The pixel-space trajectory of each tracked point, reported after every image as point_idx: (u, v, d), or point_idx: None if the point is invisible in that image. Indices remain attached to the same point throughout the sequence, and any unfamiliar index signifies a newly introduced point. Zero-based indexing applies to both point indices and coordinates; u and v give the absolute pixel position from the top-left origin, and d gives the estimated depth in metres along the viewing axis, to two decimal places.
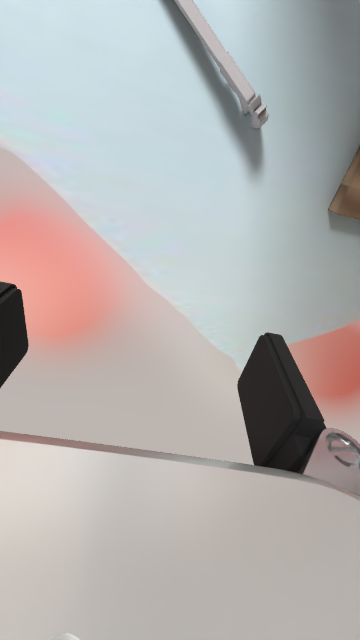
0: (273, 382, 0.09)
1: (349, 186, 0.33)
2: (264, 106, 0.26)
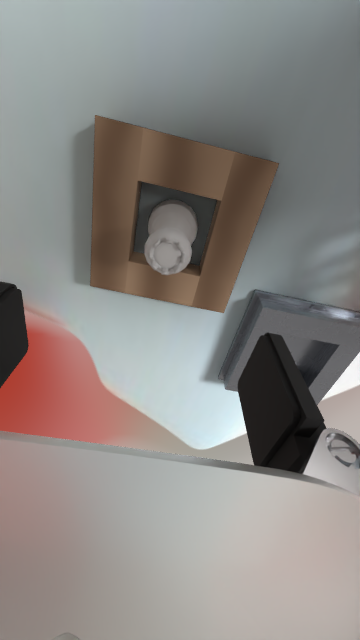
0: (273, 382, 0.09)
1: None
2: None
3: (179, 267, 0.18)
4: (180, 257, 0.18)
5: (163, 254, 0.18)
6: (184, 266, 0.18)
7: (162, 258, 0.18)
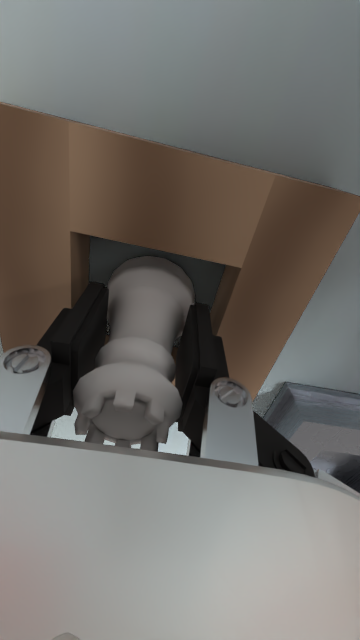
0: (189, 343, 0.09)
1: (70, 121, 0.08)
2: None
3: (153, 443, 0.08)
4: (155, 424, 0.08)
5: (114, 421, 0.07)
6: None
7: (112, 427, 0.08)
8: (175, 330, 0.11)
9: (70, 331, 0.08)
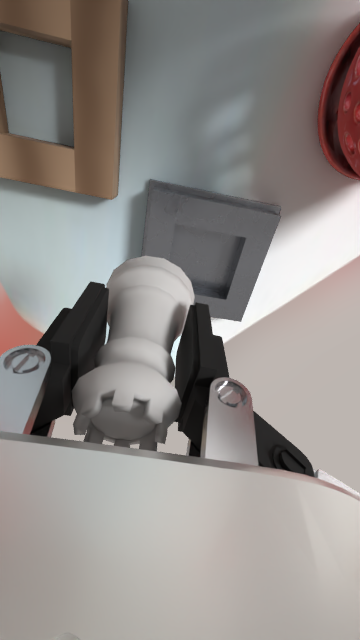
0: (189, 343, 0.09)
1: None
2: None
3: (151, 444, 0.08)
4: (154, 424, 0.08)
5: (113, 421, 0.07)
6: None
7: (111, 427, 0.08)
8: (174, 330, 0.11)
9: (70, 331, 0.08)
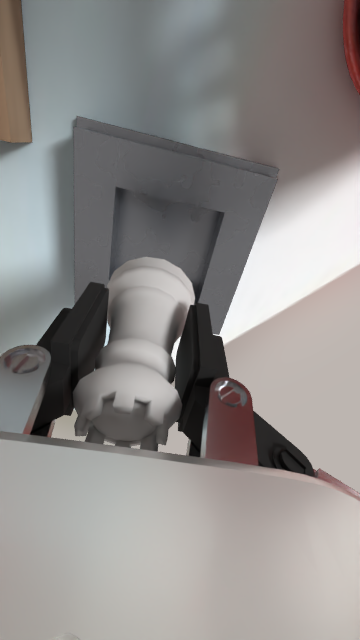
0: (189, 343, 0.09)
1: None
2: None
3: (152, 445, 0.08)
4: (155, 425, 0.08)
5: (114, 423, 0.07)
6: None
7: (113, 429, 0.08)
8: (175, 331, 0.11)
9: (70, 331, 0.08)
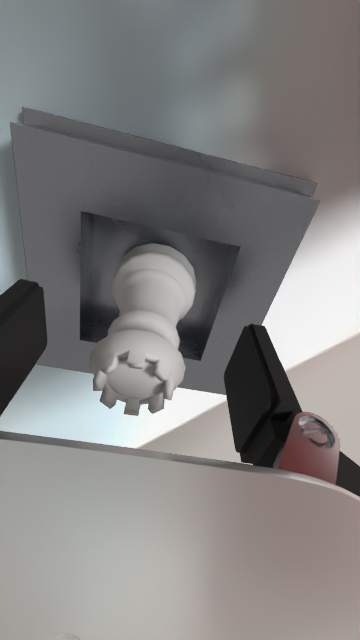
0: (253, 370, 0.09)
1: None
2: None
3: (159, 401, 0.09)
4: (162, 384, 0.09)
5: (126, 380, 0.09)
6: None
7: (125, 386, 0.09)
8: (178, 310, 0.12)
9: None
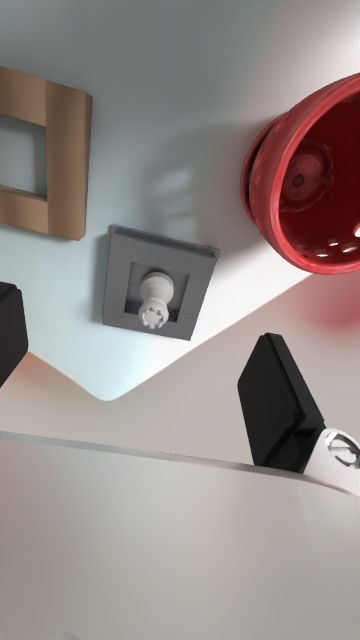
0: (273, 382, 0.09)
1: None
2: None
3: (160, 324, 0.28)
4: (161, 318, 0.28)
5: (150, 316, 0.28)
6: (164, 322, 0.29)
7: (150, 319, 0.28)
8: (166, 298, 0.32)
9: None
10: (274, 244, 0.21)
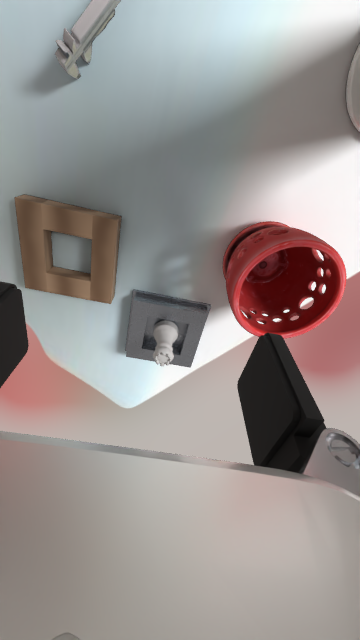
0: (273, 382, 0.09)
1: (41, 203, 0.34)
2: (64, 49, 0.24)
3: (168, 362, 0.41)
4: (168, 359, 0.41)
5: (161, 358, 0.41)
6: (170, 361, 0.42)
7: (161, 359, 0.41)
8: (172, 340, 0.44)
9: None
10: (239, 323, 0.33)
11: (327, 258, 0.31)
